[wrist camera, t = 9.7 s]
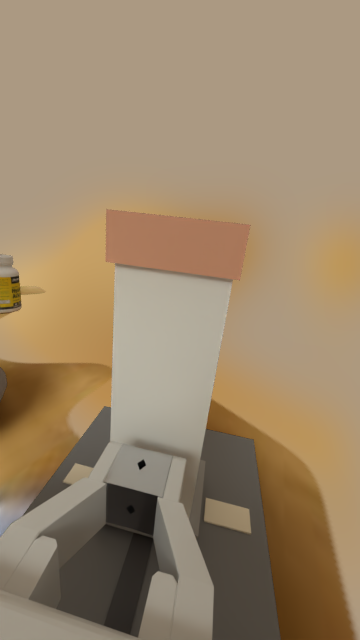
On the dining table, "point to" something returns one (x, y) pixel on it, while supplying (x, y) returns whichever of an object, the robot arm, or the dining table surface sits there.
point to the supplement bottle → (9, 286)
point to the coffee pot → (2, 383)
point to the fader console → (140, 555)
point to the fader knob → (169, 333)
